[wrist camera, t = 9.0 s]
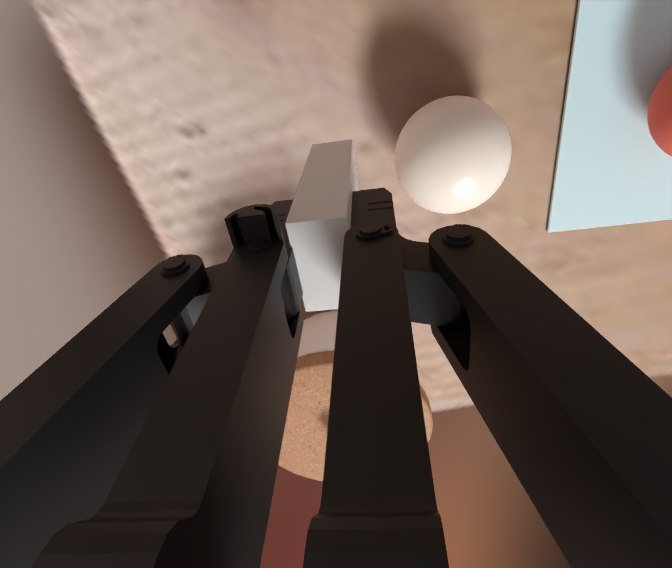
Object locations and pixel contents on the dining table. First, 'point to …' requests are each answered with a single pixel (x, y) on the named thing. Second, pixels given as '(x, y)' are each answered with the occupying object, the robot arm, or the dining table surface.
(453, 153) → the cue ball
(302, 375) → the lidded jar
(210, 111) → the dining table surface
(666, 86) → the red ball
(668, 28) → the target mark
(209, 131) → the dining table surface
